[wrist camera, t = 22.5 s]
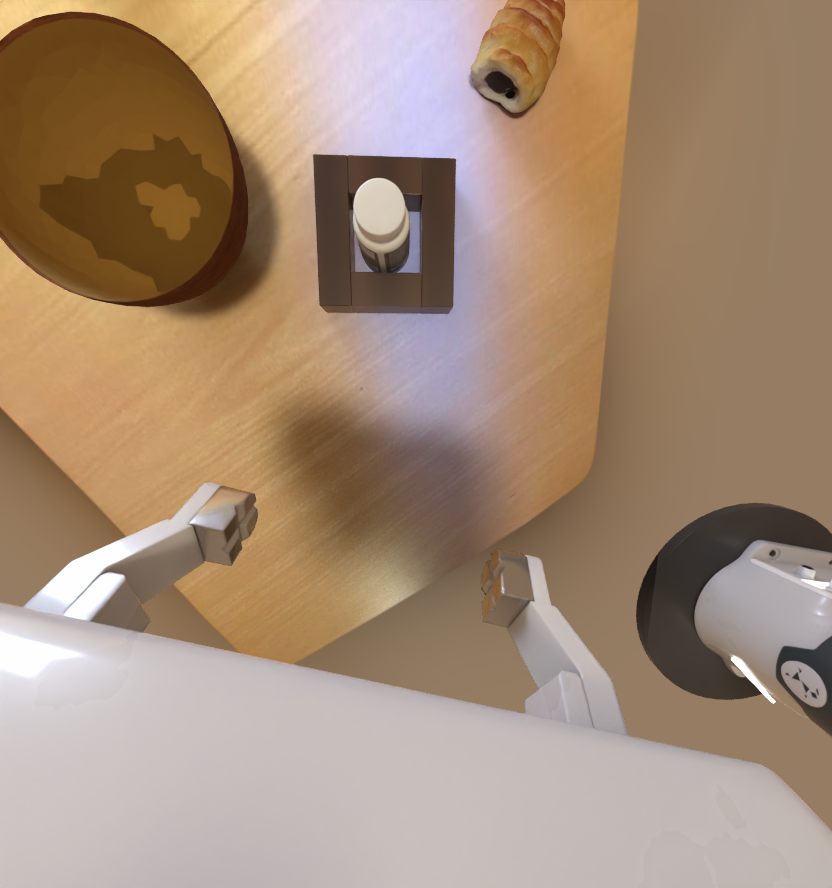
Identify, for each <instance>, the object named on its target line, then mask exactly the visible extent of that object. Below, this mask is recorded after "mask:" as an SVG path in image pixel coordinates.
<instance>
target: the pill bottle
mask: <svg viewBox="0 0 832 888" xmlns="http://www.w3.org/2000/svg"><path fill="white" fill-rule="evenodd" d="M353 209H354V215H353V227H354V231H355V234H356V237H357V240H358V243H359V246H360V249H361V253H362V256H363V258H364V260H365V262H366V264H367V265H368V266H369V267H370V268H371V269H372V270H373V271H375V272H385V273H395V272H397V271H399V270H400V269H401V268H402V267H403V266H404V264H405V263H406V261H407V258H408V254H409V234H410V218H409V214H408V210H407V208H406V206H405V201H404V197H403V195H402V193H401V191H400V190H399V188H398V187H397V186H396V185H395V184H394V183H392V182H391V181H389V180H387V179H383V178H374V179H370V180H368V181H366V182H365V183H363V184H362V185H361V186H360V187H359V189H358V190H357V192H356V195H355V198H354V204H353Z"/></svg>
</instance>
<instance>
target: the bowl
mask: <svg viewBox="0 0 832 888" xmlns="http://www.w3.org/2000/svg"><path fill="white" fill-rule="evenodd" d="M247 224H248V194H247V187H246V182H245V176H244V171H243V167H242V164H241V160H240V157H239V154H238V151H237V149H236V146H235V143H234V141H233V138H232V136H231V134H230V131H229V129H228V127H227V125H226V123H225V121H224V119H223V117H222V115H221V113H220V112H219V110H218V108H217V106H216V105H215V103H214V101H213V99H212V98H211V96H210V94H209V93H208V91H207V90H206V89H205V87H204V86H203V84H202V83H201V82H200V80H199V79H198V78H197V76H196V75H195V74H194V73H193V71H192V70H191V69H190V68H189V67H188V66H187V65H186V64H185V63H184V62H183V61H182V60H181V59H180V58H179V57H178V56H177V55H176V54H175V53H174V52H173V51H172V50H171V49H170V48H168V47H167V46H166V45H164V44H163V43H162V42H161V41H159V40H158V39H157V38H155V37H154V36H152V35H150V34H148V33H147V32H145V31H143V30H141V29H140V28H138V27H136V26H134V25H132V24H130V23H127V22H125V21H122V20H119V19H117V18H114V17H109V16H105V15H101V14H96V13H84V12H65V13H59V14H52V15H46V16H42V17H39V18H35V19H33V20H31V21H29V22H27V23H25V24H23V25H21V26H19V27H18V28H16V29H14V30H13V31H11V32H10V33H9V34H8V35H6V36H5V37H4V38H3V39H2V40H1V41H0V237H1V238H2V240H3V241H4V242H5V243H6V244H7V246H8V247H9V248H10V249H11V250H12V251H13V252H14V253H15V254H16V255H17V256H18V257H19V258H20V259H21V260H22V261H23V262H24V263H25V264H27V265H28V266H29V267H30V268H31V269H33V270H34V271H35V272H36V273H37V274H39V275H41V276H42V277H44V278H45V279H47V280H49V281H50V282H52V283H54V284H56V285H58V286H60V287H62V288H64V289H65V290H67V291H69V292H72V293H75V294H78V295H81V296H84V297H87V298H90V299H93V300H97V301H102V302H107V303H112V304H118V305H125V306H141V307H151V306H162V305H169V304H174V303H179V302H183V301H186V300H189V299H192V298H194V297H196V296H198V295H201V294H203V293H205V292H206V291H208V290H209V289H211V288H212V287H214V286H215V285H216V284H217V283H219V282H220V281H221V280H222V279H223V278H224V277H225V276H226V275H227V274H228V273H229V272H230V270H231V269H232V267H233V265H234V264H235V262H236V261H237V259H238V257H239V255H240V253H241V250H242V247H243V244H244V241H245V237H246V231H247Z"/></svg>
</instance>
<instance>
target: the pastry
mask: <svg viewBox="0 0 832 888" xmlns="http://www.w3.org/2000/svg"><path fill="white" fill-rule="evenodd" d="M564 18H565V2H564V0H508V1H507V3H506V5H505V7H504V8H503V9H502V10H500V11H499V12H498V13H497V15H496V16H495V18H494V19H493V21H492V24H491V27H490V29H489V30H488V31H487V32H486V33H485V35H484V37H483V39H482V42H481V45H480V49H479V53H478V55H477V58H476V60H475V62H474V64H473V65H472V67H471V76H472V80H473V82H474V85H475V88H476V89H477V90H478V92H480V93H481V94H483V95H484V96H485V97H486V98H489V99H491V100H493V101H496V102H500V103H501V104H502V106H504V107H505V108H506V109H507V110H509V111H510V112H512V113H518V112H522V111H524V110H526V109H527V108H529V107H530V106H531V105H532V104H533V103H534V102H535V101H536V100H537V99H538V98H539V97H540V96H541V95H542V93H543V92H544V90H545V86H546V84H547V81H548V79H549V77H550V74H551V72H552V70H553V68H554V66H555V64H556V58H557V55H558V52H559V48H560V41H561V37H562V25H563V21H564Z"/></svg>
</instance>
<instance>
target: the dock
mask: <svg viewBox="0 0 832 888" xmlns="http://www.w3.org/2000/svg"><path fill="white" fill-rule="evenodd" d="M313 160H314V184H315V207H316V231H317V254H318V278H319V301H320V306H321V307H322V308H323V309H324V310H325V311H326V312H346V313H355V312H356V313H432V314H449V312H450V311H451V309H452V307H453V278H454V227H455V175H456V159H450V158H420V157H387V156H354V155H348V156H347V155H316V154H314V155H313ZM374 178H383V179H387V180H389V181H391V182H392V183H394V184H395V185H396V186H397V187H398V188H399V190H400V191H401V193H402V195H403V197H404V201H405V206H406V208H407V210H408V211H420V273H385V272H355V261H354V227H353V210H354V209H353V204H354V198H355V195H356V192H357V190H358V189H359V187H360V186H361V185H362V184H363V183H365V182H366V181H368V180H370V179H374Z"/></svg>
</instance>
